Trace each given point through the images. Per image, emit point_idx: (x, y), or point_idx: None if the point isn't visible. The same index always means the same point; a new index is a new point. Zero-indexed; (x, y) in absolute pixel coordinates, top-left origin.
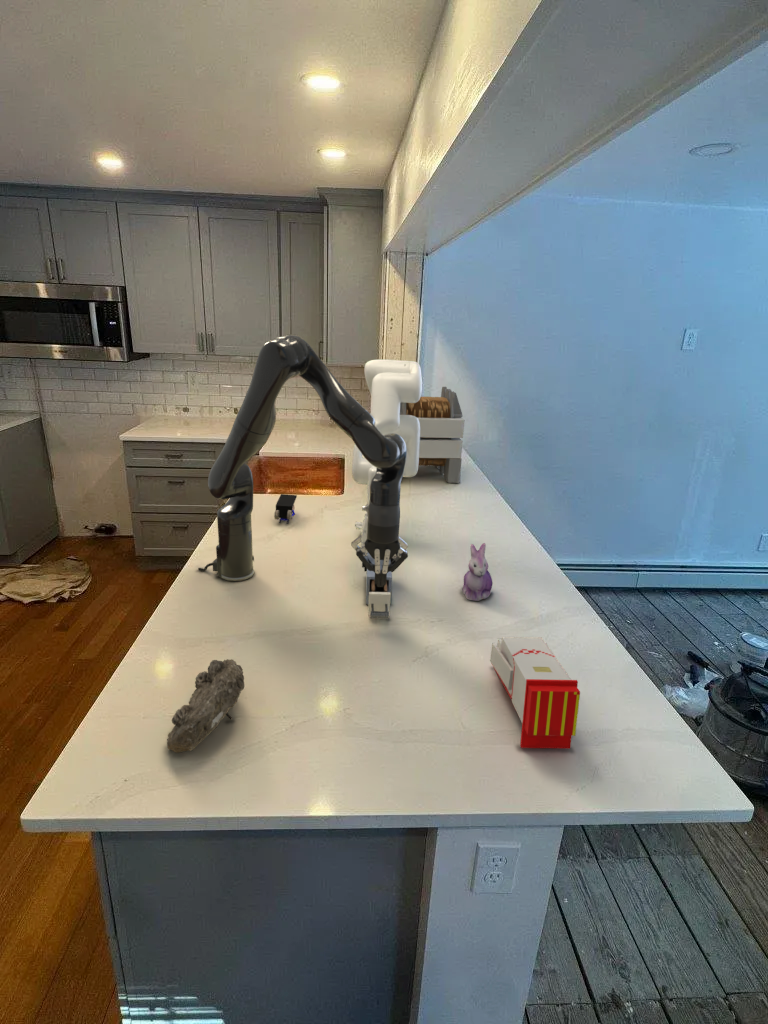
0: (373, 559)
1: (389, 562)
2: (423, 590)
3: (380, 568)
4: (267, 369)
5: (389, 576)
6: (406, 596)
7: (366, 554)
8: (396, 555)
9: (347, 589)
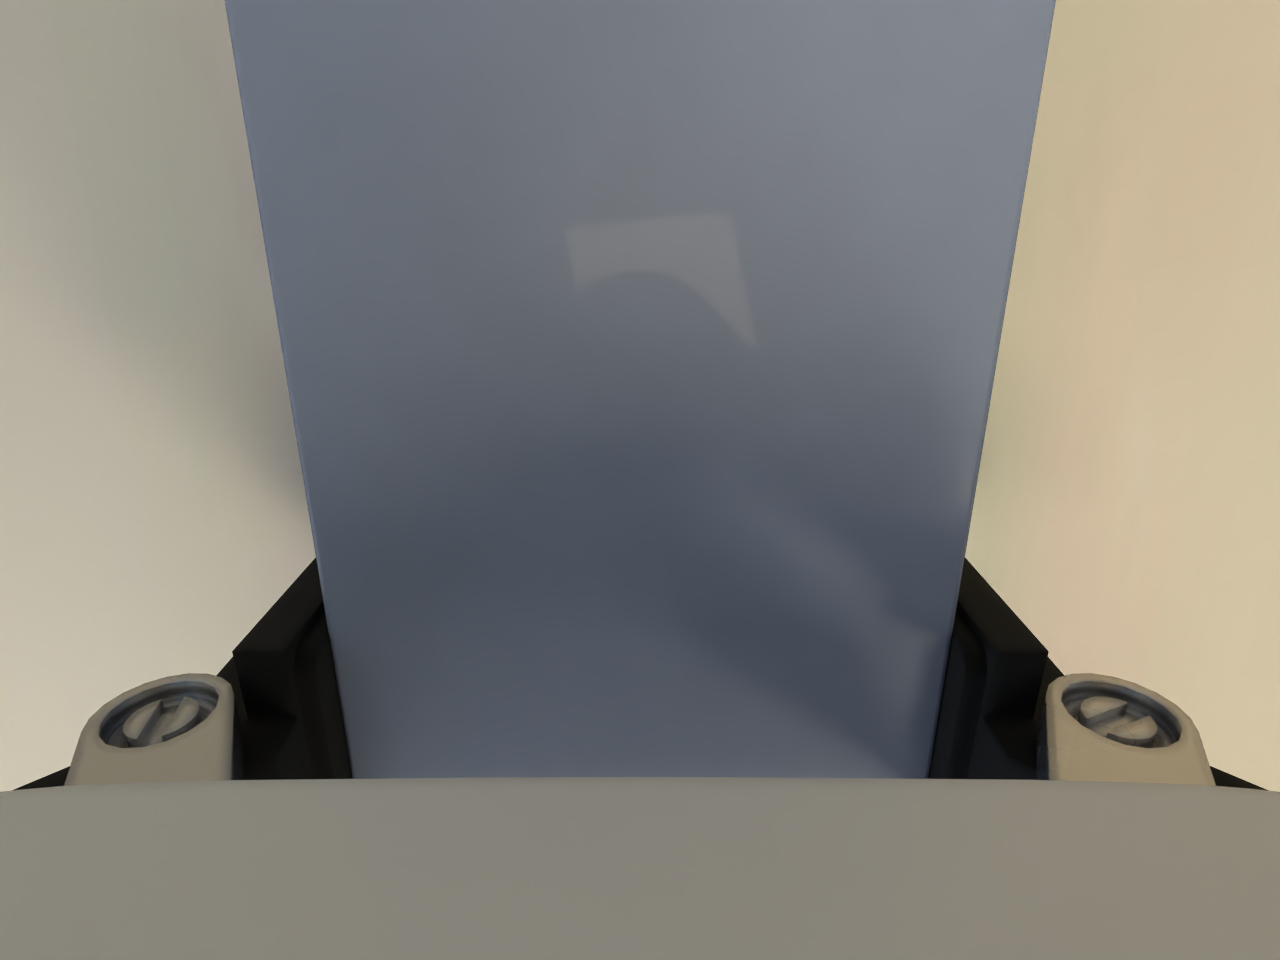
0: (781, 699)
1: (352, 562)
2: (16, 382)
3: (599, 142)
4: None
5: None
6: (223, 184)
7: (1066, 766)
8: (87, 783)
9: (1058, 350)
